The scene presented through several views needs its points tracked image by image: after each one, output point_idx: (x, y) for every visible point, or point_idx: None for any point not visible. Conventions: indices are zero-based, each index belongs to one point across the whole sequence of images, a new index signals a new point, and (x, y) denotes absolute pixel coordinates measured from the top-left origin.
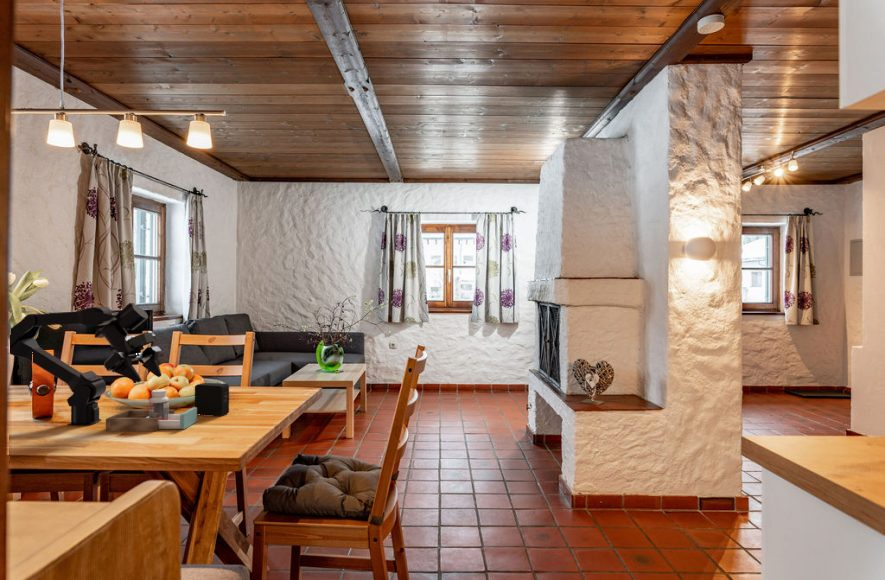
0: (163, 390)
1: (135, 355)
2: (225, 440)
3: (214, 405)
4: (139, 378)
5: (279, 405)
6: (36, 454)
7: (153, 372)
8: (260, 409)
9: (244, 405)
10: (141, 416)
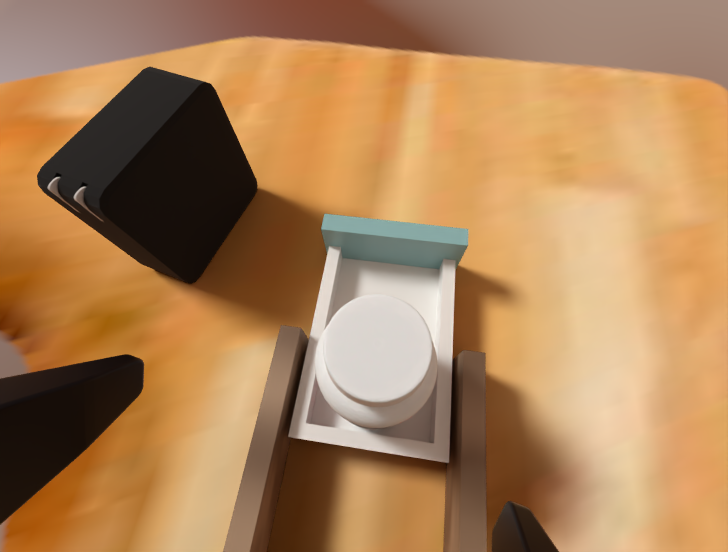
0: (379, 310)
1: None
2: (578, 125)
3: (228, 182)
4: (543, 533)
5: (146, 65)
6: None
7: (32, 480)
8: None
9: None
10: (268, 515)
